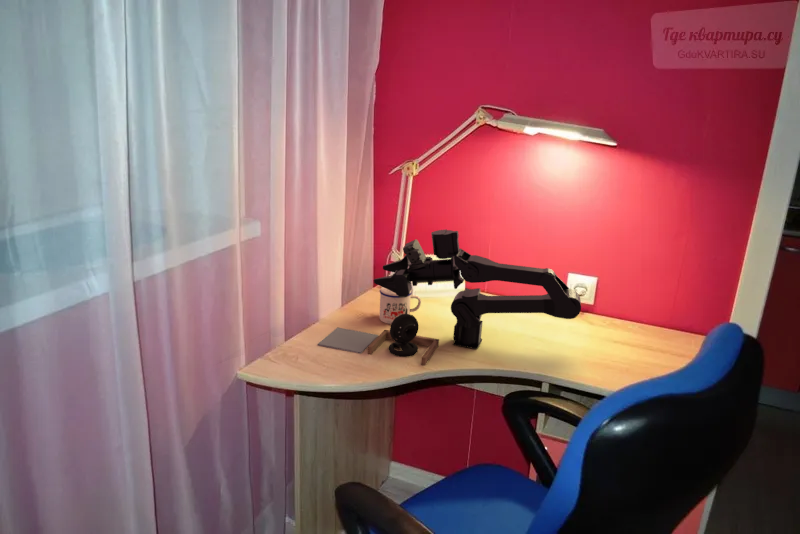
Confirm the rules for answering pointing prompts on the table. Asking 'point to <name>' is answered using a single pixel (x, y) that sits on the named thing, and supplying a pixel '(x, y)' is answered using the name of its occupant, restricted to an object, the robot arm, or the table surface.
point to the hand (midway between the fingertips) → (378, 274)
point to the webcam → (403, 335)
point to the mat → (348, 340)
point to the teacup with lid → (394, 305)
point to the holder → (418, 340)
